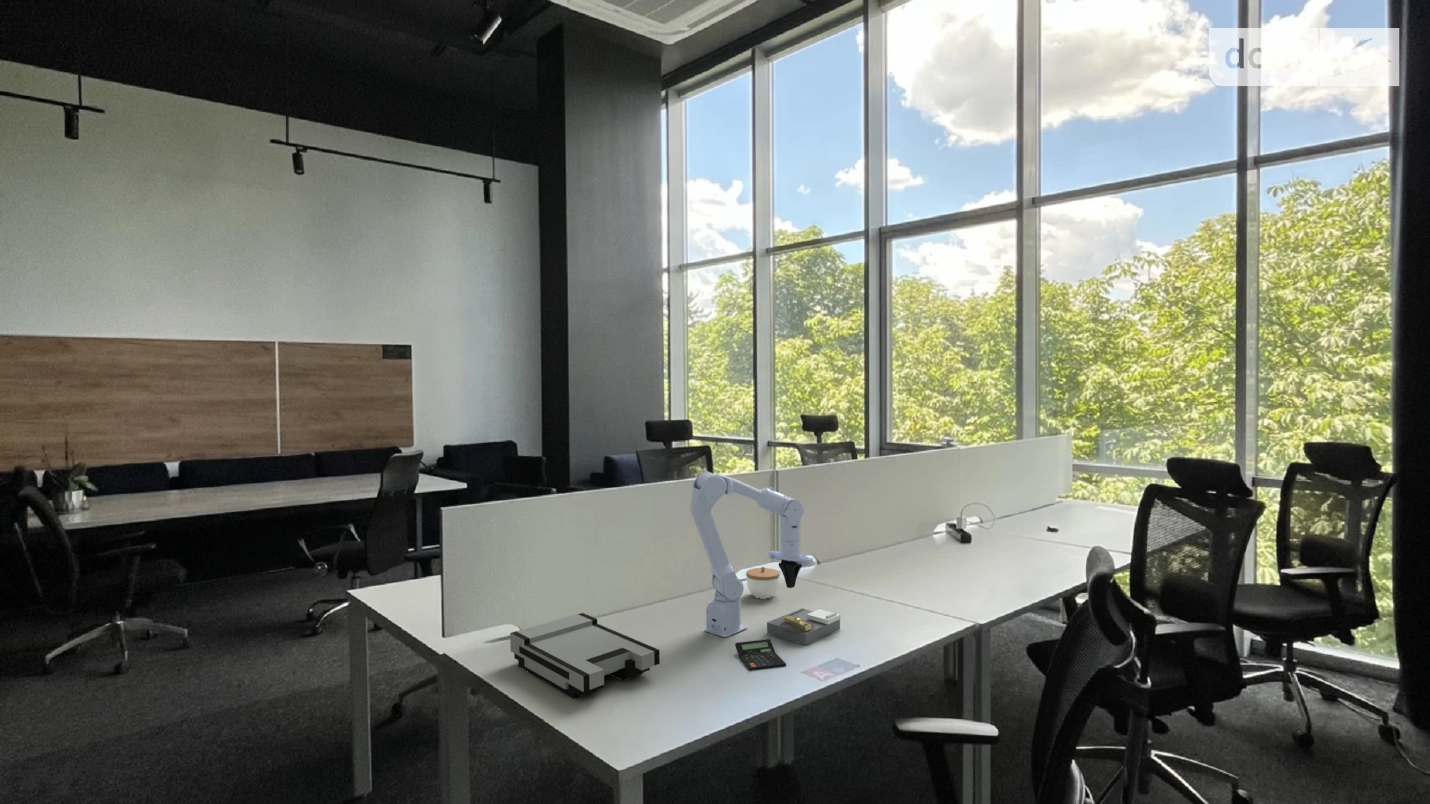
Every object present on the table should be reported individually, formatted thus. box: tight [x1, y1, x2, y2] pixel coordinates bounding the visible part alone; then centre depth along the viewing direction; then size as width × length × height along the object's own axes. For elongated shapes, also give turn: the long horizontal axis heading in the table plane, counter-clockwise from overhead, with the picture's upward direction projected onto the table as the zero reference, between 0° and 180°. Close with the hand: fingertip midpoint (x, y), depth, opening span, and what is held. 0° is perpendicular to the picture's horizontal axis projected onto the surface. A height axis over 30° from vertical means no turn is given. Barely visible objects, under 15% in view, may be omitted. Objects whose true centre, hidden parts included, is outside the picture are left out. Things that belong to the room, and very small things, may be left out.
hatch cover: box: [807, 608, 841, 624], centre depth 192 cm, size 6×7×2 cm
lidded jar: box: [745, 566, 781, 600], centre depth 224 cm, size 11×11×9 cm
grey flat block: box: [766, 608, 841, 646], centre depth 191 cm, size 18×13×3 cm
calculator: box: [734, 638, 787, 672], centre depth 173 cm, size 9×12×3 cm
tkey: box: [784, 616, 811, 631], centre depth 187 cm, size 9×2×2 cm, turn 34°
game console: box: [509, 612, 660, 700], centre depth 166 cm, size 21×32×8 cm, turn 44°
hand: (790, 587), depth 200 cm, fingers closed
